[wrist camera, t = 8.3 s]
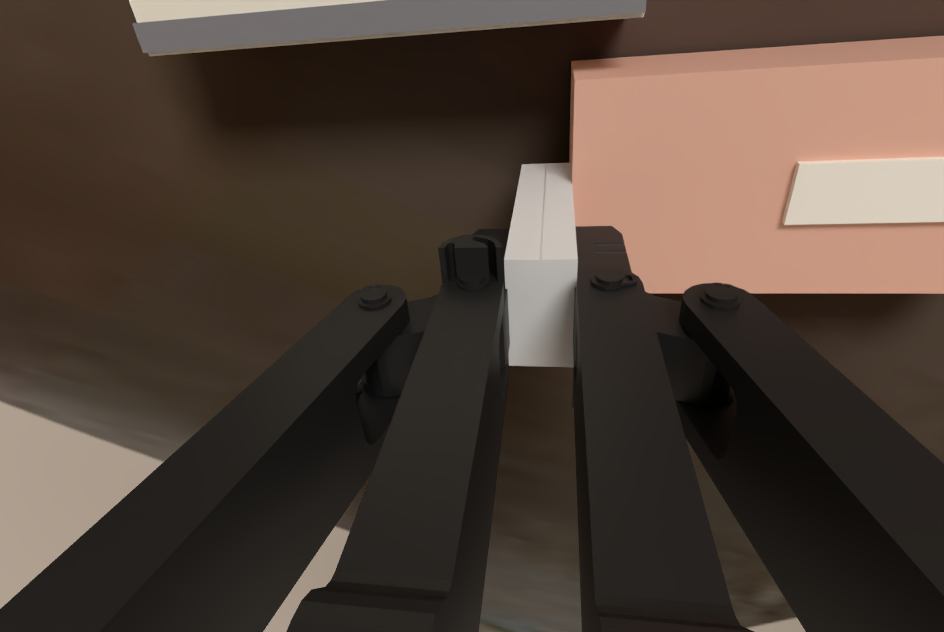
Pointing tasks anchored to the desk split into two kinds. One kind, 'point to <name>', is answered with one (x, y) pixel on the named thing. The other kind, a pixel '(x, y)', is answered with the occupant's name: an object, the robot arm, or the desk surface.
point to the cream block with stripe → (344, 20)
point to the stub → (768, 165)
